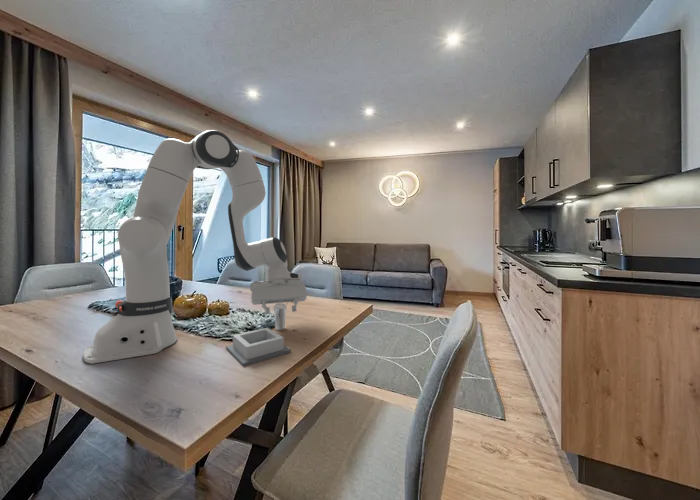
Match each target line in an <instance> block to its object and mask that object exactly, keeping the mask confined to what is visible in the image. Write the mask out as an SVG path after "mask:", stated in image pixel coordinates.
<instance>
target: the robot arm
mask: <svg viewBox="0 0 700 500" xmlns="http://www.w3.org/2000/svg"><path fill="white" fill-rule="evenodd" d="M195 169H202V170H216V169H220V170H222V172H224V174H225V175H226V177H227V178H228V182H229V185H230V188H231V191H232V193H231V194H232V198H231V201H230V202H229V203H228V206H227V214H228V221H229V228H230V234H231V239H232V245H233V246H232V247H233V255H234V258H233V259H234V262H235V265H236V266H237V267H238V268H239V269H241V270H244V271H247V272H248V271H251V270H254V269H256V268H260V267H263V266H264V268H265V270H266V271H265V280H259V281H258V280H256V281H255V280H254V281H253V282H251V283H250V285H249V289H250V292H251V297H250V302H251V304H252V305H253V306H257V305H261V308H262V309H263V310H264V311H265V313H264V314H265V315H269V314H270V313H271V310H270V307H267V305H268V304H269V305H270V304H277V303H283V304H285V303H293V304H294V305H291V312H292V313H295V312H297V306H298V304H299V302H305V301H306V300H307V297H308V293H307V287H306V284H305V282H304V281H303V280H302V275H301V274H300V273H296V272H292V271H289V269H288V265H289V264H288V254H287V249H286V248H287V247H286V245H285V243H284V241H282V240H281V239H280V238H278V237H275V236H273V237H268V238H263V239H261V240H257V241H256V240H255V241H252V242H247V241H246V236H245V230H244V223H243V222H244V218H245V216H247V215H248V214H249V213H251V212H252V211H253V210H255V209H256V208H258V207H259V206H260V205H261V204H262V203H263V201H264V199H265V198H266V192H267V191H266V187H265V183H264V180H263V176H262V174H261V172H260V169H259V167H258V164H257V162H256V160H255V158H254V157H253V155H252V153H250V152H249V151H247V150H242V149H239V148H238V147H237V146H236V145H235V144H234V143H233V142H232V140H231V139H230V138H229V137H228V136H227V135H226V134H225V133H223V132H222V131H220V130H216V129H208V130H205V131H203V132H201V133H199V134H197V135H196V136H195V137H194V138H192V140H190V141H189V142H184V141H182V140H180V139H177V138H166V139H163V140H162V141H161V142H160V143H159V145H158V146H157V148H156V150H155V151H154V153H153V154H152V157H151V158H150V160H149V164H148V166H147V168H146V171H145V173H144V176H143V179H142V181H141V185H140V187H139V189H138V193H137V199H136V204H135V208H134V212H133V215H132V217H130V218H129V219H126V221H124V222H123V223H122V224H121V225H120V227H119V229H118V231H117V240H118V243H119V252H120V256H121V263H122V267H123V273H124V286H125V300H117V301H116V302H115V308H116V309H117V315H116V316H114V317H113V318H112V319H110V320H109V321H107V323H105V324H103V325H102V326H101V327H100V328H98V329H97V331H96V332H95V335H94V338H93V343H92V345H89V346H88V347H87V348H85V349H84V351H83V356H82V357H83V361H84V362H85V363H87V364H92V365H93V364H98V363H105V362H111V361H117V360H118V361H119V360H123V359H129V358H136V357H141V356H148V355H153V354H157V353H159V352H161V351H162V350H163V349H165V348H167V347H169V346H171V345H173V344H175V343H176V342H177V340H178V336H177V334H176V332H175V328H174V323H173V319H172V314H173V299H172V296H171V290H170V269H169V261H168V251H167V250H168V249H167V244H168V243H169V240H170V238H171V235H172V231H173V229H174V226H175V223H176V219H177V216H178V213H179V210H180V207H181V204H182V201H183V198H184V196H185V193H186V190H187V187H188V184H189V182H190V179H191V175H192V173H194V170H195Z"/></svg>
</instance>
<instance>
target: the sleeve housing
mask: <svg viewBox="0 0 700 500" xmlns="http://www.w3.org/2000/svg"><path fill="white" fill-rule="evenodd" d="M284 341H285V337H283V336H281V335H280V334H278V333H277V332H276V331H274V330H272V329H271V328H269V327H263V328H260V329H259V328H258V329H256V330H250V331H246V332H240V333H237V334H232V344H230V345H226V346H225V349H226V351H228V352H229V354H231V355H232V356H233V358H234V359H235V360H236V361H237V362H238V363H239V364H240V365H242V367H245V366H248V365H252V364H256V363H259V362H262V361H265V360H269V359H273V358H278V357H280V356H283V355H286V354H290V353H291V352H292V349H290V348H289V347H287V346H286V345H285V343H284Z"/></svg>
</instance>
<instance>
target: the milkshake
mask: <svg viewBox="0 0 700 500" xmlns="http://www.w3.org/2000/svg"><path fill="white" fill-rule="evenodd" d="M288 303H289V302H286V304H285V303H274V306H273V316H274V328H275V331H276V330H277V331H281V330H285V329H286V315H287V305H288Z"/></svg>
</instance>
